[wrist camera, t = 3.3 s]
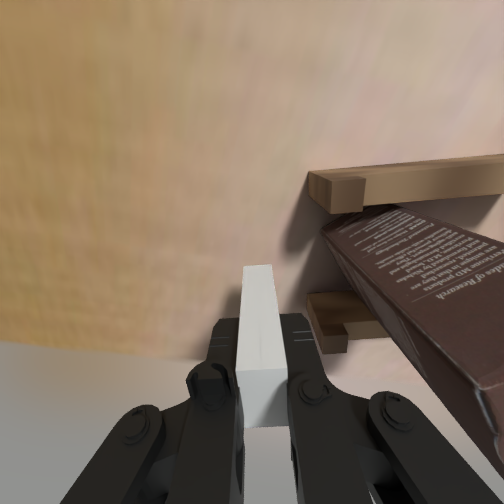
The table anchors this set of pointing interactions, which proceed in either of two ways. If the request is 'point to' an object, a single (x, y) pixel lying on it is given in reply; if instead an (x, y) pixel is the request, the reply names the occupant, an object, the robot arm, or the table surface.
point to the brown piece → (383, 192)
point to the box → (434, 307)
